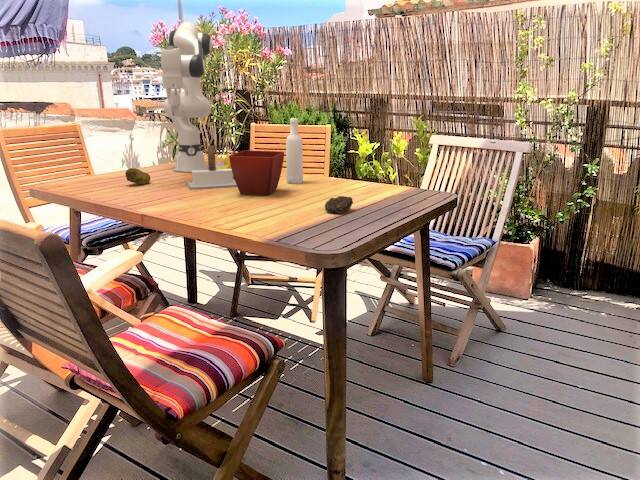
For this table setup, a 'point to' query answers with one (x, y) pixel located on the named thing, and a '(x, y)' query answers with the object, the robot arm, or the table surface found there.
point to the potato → (137, 176)
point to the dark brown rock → (338, 204)
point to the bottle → (294, 154)
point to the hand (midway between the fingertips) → (175, 116)
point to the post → (211, 158)
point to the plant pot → (257, 171)
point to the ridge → (212, 179)
